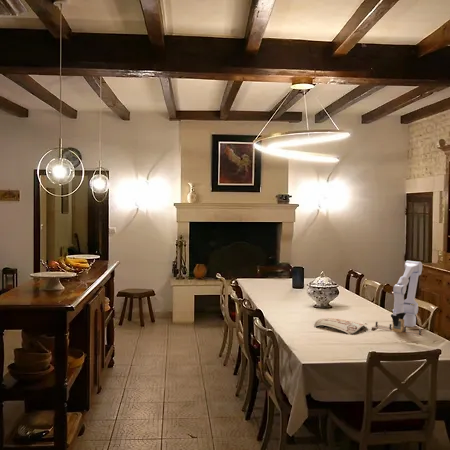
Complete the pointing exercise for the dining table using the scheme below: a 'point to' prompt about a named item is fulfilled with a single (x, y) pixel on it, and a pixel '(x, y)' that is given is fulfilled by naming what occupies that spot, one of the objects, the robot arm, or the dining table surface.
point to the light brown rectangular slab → (399, 326)
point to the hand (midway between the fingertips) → (397, 324)
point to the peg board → (397, 331)
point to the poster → (340, 324)
